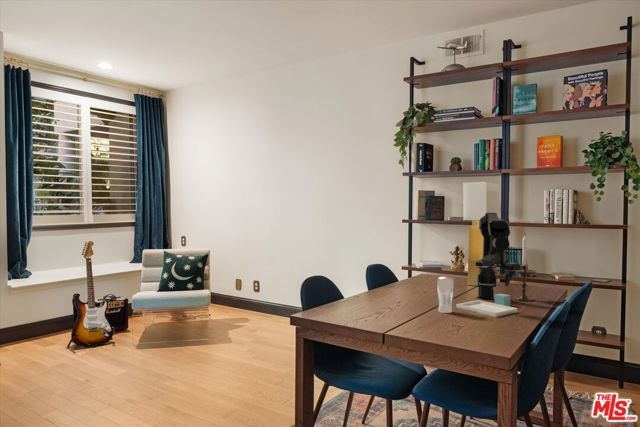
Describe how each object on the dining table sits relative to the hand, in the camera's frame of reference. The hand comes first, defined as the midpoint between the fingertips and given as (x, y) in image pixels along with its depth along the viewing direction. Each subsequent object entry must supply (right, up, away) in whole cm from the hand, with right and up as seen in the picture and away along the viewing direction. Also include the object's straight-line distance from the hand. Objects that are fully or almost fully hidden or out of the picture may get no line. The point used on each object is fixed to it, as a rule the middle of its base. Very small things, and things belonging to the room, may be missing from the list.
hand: (497, 284), depth 196 cm
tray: (-3, -12, +5) cm, 13 cm away
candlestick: (+25, -12, +28) cm, 39 cm away
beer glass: (-22, -12, +1) cm, 25 cm away
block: (+8, -12, +15) cm, 21 cm away
